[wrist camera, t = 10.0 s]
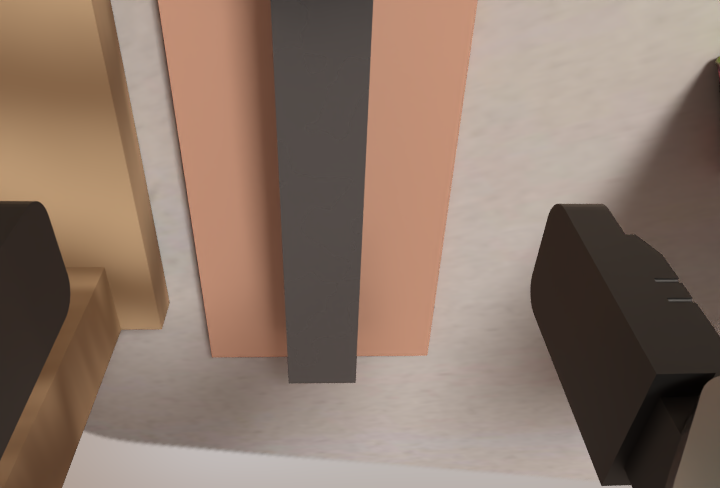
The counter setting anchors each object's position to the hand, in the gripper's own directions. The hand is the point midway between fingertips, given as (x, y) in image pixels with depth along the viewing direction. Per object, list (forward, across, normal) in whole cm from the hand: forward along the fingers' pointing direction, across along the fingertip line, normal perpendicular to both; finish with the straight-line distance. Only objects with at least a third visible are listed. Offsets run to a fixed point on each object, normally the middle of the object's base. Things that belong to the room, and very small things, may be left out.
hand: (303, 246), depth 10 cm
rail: (+10, 0, +1) cm, 10 cm away
